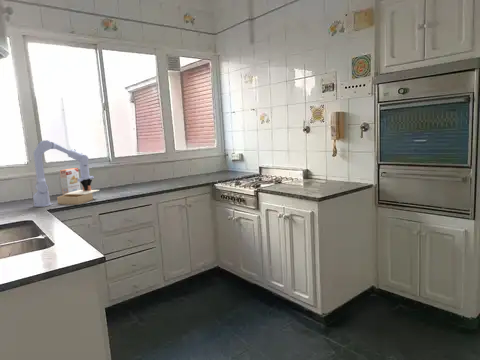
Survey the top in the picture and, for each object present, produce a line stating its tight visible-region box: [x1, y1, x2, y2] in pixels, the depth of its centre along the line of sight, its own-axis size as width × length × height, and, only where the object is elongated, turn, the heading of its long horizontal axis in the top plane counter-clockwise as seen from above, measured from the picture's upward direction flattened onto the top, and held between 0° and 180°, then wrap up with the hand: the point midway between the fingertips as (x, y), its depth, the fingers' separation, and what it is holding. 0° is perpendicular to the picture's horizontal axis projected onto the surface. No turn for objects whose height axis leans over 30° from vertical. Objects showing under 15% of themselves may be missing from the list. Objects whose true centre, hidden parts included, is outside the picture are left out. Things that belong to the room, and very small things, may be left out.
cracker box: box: [59, 167, 82, 196], centre depth 256 cm, size 14×6×21 cm, turn 168°
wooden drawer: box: [56, 193, 94, 205], centre depth 231 cm, size 17×14×5 cm
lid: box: [65, 185, 100, 195], centre depth 238 cm, size 18×14×4 cm
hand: (87, 189), depth 242 cm, fingers closed on lid, 2 cm apart
